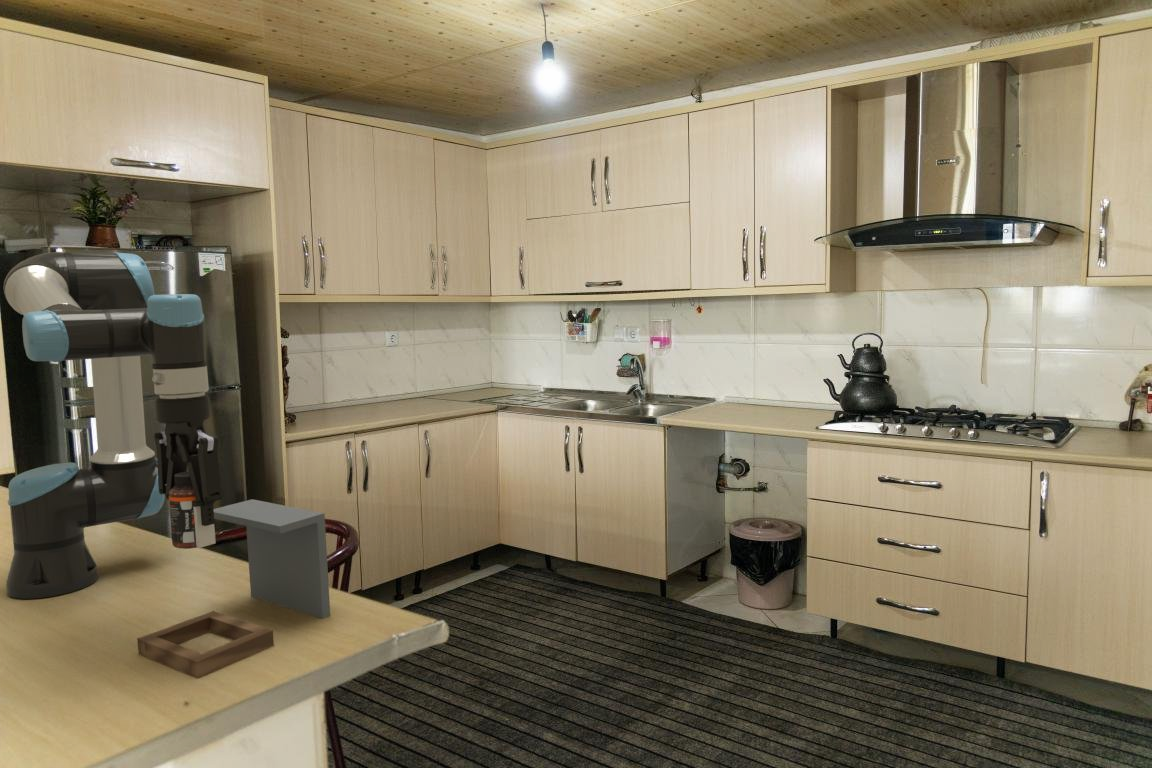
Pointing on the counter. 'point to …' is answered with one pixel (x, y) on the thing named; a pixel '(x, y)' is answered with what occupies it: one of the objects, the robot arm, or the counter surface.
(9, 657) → the counter surface
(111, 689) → the counter surface
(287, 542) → the grey l-shaped bracket
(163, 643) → the wooden frame
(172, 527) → the supplement bottle
